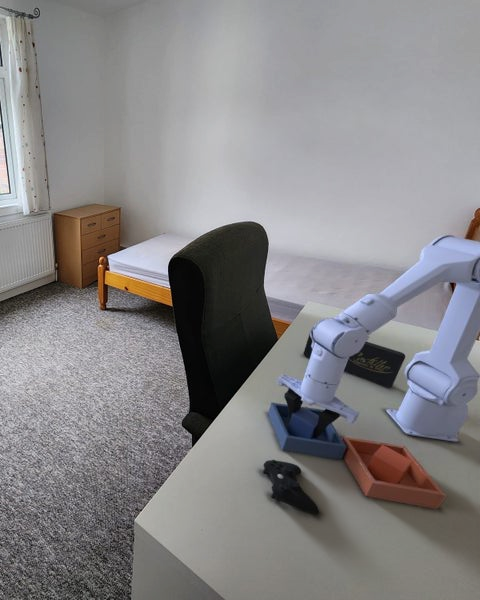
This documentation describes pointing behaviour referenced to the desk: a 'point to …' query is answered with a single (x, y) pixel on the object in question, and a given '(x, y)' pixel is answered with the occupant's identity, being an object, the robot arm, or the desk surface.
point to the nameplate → (371, 363)
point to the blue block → (303, 423)
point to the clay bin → (410, 489)
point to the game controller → (288, 486)
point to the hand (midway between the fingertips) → (304, 427)
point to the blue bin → (321, 446)
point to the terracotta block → (388, 465)
